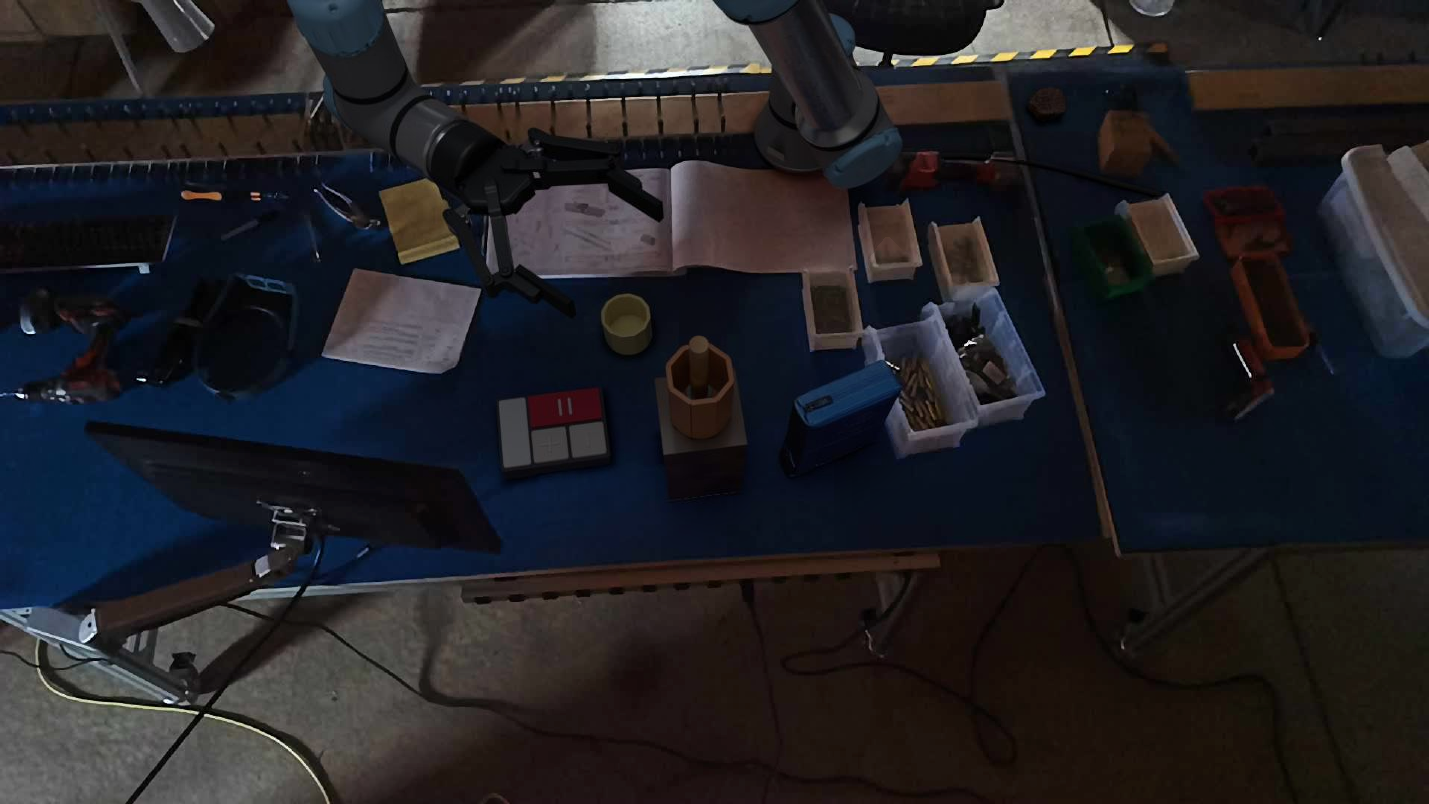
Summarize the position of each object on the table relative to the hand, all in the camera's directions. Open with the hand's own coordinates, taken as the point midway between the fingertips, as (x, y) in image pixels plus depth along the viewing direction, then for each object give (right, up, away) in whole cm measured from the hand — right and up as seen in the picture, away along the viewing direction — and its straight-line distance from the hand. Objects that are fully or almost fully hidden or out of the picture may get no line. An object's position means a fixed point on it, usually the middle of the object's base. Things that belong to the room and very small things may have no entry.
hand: (618, 260), depth 81 cm
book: (+25, -20, +40) cm, 51 cm away
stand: (+7, -22, +38) cm, 45 cm away
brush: (+7, -14, +19) cm, 25 cm away
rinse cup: (-4, -3, +46) cm, 47 cm away
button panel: (-13, -19, +40) cm, 46 cm away
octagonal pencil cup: (+8, -15, +20) cm, 26 cm away
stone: (+66, +37, +65) cm, 99 cm away
